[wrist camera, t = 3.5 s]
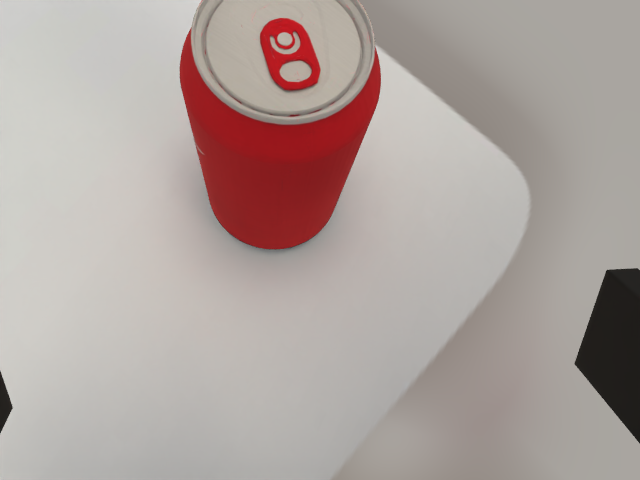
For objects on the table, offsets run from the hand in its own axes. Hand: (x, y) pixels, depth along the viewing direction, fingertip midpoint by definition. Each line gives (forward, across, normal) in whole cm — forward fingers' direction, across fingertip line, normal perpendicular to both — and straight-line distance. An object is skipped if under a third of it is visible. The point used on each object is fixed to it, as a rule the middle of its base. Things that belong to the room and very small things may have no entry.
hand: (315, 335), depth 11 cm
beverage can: (+15, 0, -3) cm, 16 cm away
